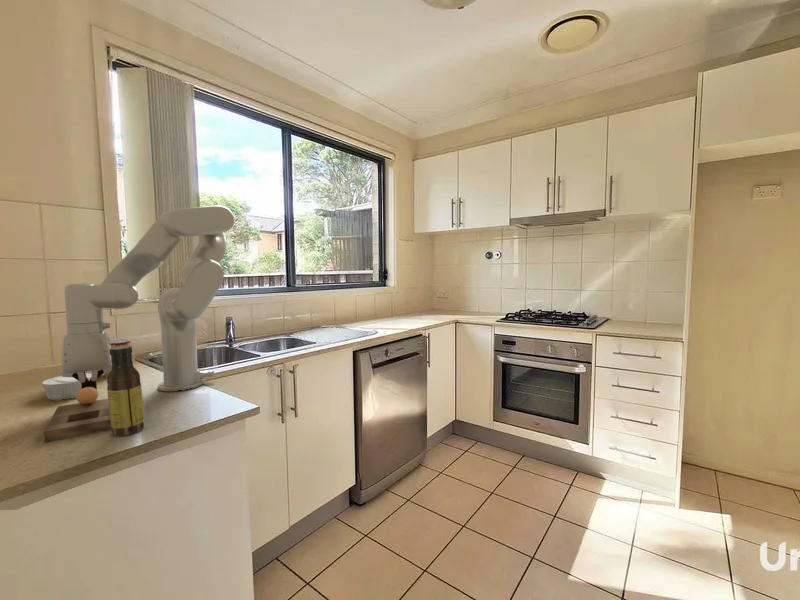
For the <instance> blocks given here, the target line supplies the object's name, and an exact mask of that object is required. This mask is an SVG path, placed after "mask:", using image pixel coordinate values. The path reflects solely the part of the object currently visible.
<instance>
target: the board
mask: <svg viewBox="0 0 800 600" xmlns="http://www.w3.org/2000/svg"><path fill="white" fill-rule="evenodd" d="M108 430H112V427H111V421H110V412H109V402H108V398H102V399H96V400H95V401H94V402H93V403H90V404H81V403H79V402H77V403H72V404H64V405H59V406H57V407H56V409H55V411H54V413H53V414H52V416H51V418H50V419H49V421H48V423H47V425H46V426H45V429H44V430H43V438H44V440H43V441H44V443H48V442H53V440H54V441H58V439H59V440H64V439H69V438H73V437H78V436H79V437H80V436H83V435H88V434H93V433H94V434H95V433H98V432H104V431H108ZM68 437H69V438H68ZM63 438H64V439H63Z"/></svg>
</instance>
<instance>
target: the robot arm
mask: <svg viewBox="0 0 800 600" xmlns="http://www.w3.org/2000/svg"><path fill="white" fill-rule="evenodd" d="M234 225H235V215H234V214H233V212H232V210H230V209H229V208H228V207H226V206H224V205H208V206H207V205H206V206H198V207H197V206H196V207H195V206H194V207H181V208H175V209H171V210H167V211H165V212H162V214H160V215H159V216H158V217H157V218H156V220H155V221H154V223H153V224H152V225H151V226H150V227H149V228H148V229H147V231H146V232H145V233H144V235H143V236H142V238H140V239H139V241H138V242H137V243H136V245H135V246H133V248H131V250H130V251H129V252H128V253H127V254H126V255H125V256H124V257H123V258H122V259H121V260H120V261H119V262H118V263H117V264H116V266H114V267H113V269H112V270H111V271H110V272H109V274H108V275H106V277H105V278H104V280H103V281H102V282H101V283H99V284H97V283H94V282H93V283H92V282H91V283H90V282H89V283H88V282H81V283H78V282H77V283H69V284H67V285H66V286H65V287H64V304H65V317H66V318H65V319H66V322H65V323H66V334H64V335H63V339H62V346H61V348H62V349H61V368H62V372H61V376H62V377H73V378H75V379H77V380H78V381H80V382H81V384H82V389H83V388H85V387H93V388H95V389H96V390H97V391H98V386H97V380H98V379H99V378H100V377H101V376H102V375H103V374H104V375H105V373H107V372H111V370H112V358H111V355H110V348H111V345H110V340H111V339H110V337H109V333H108V331H105V330H106V329H110V328H111V323H110V322H108V323H107V322H105V321H104V312H103V311H104V309H111V310H112V309H115V310H122V309H125V310H126V309H129V308H130V307H133V306H134V305H136V303H137V302H138V300H139V291H138V290H137V288H136V287H137V286H138V283H140V282H141V280H142V279H144V277H145V276H147V275H149V274H150V273H151V272H153V271H155V270H157V269H159V268H160V267H161V266H163V264H165V263H166V261H167V260H168V259H169V257H170V256H171V254H172V253H173V252H174V250H175V249H176V248H177V246H178V245H179V244H180V243H181V241H182V240H184V239H183V238H186V237H187V238H188V237H189V238H190V237H197V236H198V243H197V245H196V247H195V249H194V250H193V252H192V253H191V255H190V256H189V258H188V259H187V260H186V262H185V263H184V265H183V266H182V268H181V270H180V273H179V278H180V281H181V282H182V284H183V285H182V286H181V287H172V288H169V289H166V290H164V291H163V292H162V294H160V296H159V297H158V301H157V311H158V317H159V321H160V329H161V331H160V332H161V349H162V350H161V352H162V356H161V357H162V371H163V372H162V373H163V381H162V382H160V383H158V385H157V388H158V390H159V391H162V392H179V391H178V390H182V391H187V390H186V389H188V390H191V389H190V388H192V389H196V388H198V387H201V386H202V385H204V383H205V382H204V378H210V377H215V371H214V370H207V369H206V370H202V371H201V370H200V369H199V368H198V366H199V365H198V345H197V325H196V319H198V318H200V317H201V316H202V315H203V314H204V313H205V312H206V311H207V310H208V307H209V306H210V305H211V303H212V302H213V299H214V298H215V296H216V295H217V294H218V291H219V290H220V288H221V286H222V284H223V281H224V276H225V275H224V273H225V272H224V269H223V267H222V265H220V264H221V261H222V260H223V258H224V257H225V253H226V252H227V251H226V250H227V240H226V236H225V233H226V232H229V231H230V230H232V229H233V227H234ZM88 371H89V372H90V371H91V374H92V376H91V378H90V381H89V380H88V378H87V377H86V372H88Z"/></svg>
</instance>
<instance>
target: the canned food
mask: <svg viewBox="0 0 800 600" xmlns="http://www.w3.org/2000/svg"><path fill="white" fill-rule="evenodd" d="M110 345H111V348H113V347H117V346H132V345H131V339H130V338H117V339H110ZM109 374H110V372H107V373H104V377H108V375H109Z"/></svg>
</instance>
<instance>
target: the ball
mask: <svg viewBox="0 0 800 600" xmlns="http://www.w3.org/2000/svg"><path fill="white" fill-rule="evenodd" d="M98 397H99V391H98V389H97V390H96V389H95V388H93V387H85V388H83V389H81V390H80V391H78V393H77V395H76V398H75V399H76V401H77V403H81V404H90V403H93V402H94V401H96V400H98Z"/></svg>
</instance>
